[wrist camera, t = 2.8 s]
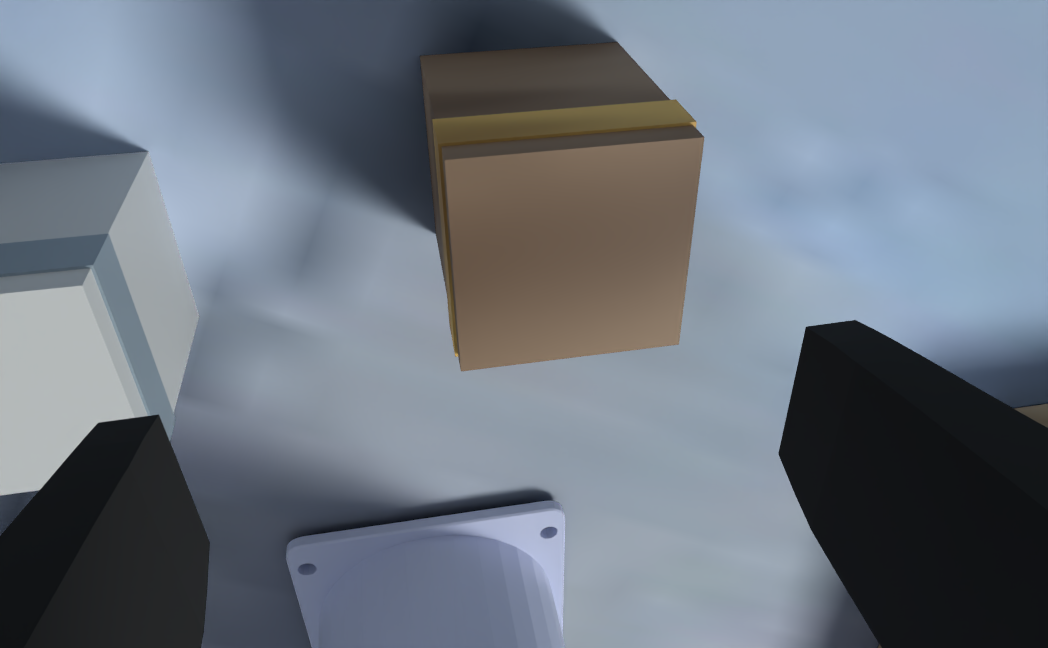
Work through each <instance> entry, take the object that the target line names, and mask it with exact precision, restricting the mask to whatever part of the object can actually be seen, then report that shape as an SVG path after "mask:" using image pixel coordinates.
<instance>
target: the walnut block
mask: <svg viewBox="0 0 1048 648" xmlns="http://www.w3.org/2000/svg"><path fill="white" fill-rule="evenodd" d="M420 62H421V73H422V84H423V96H424V107H425V118H426V129H427V140H428V151H429V162H430V174H431V185H432V196H433V207H434V218H435V229H436V237H437V243H438V248H439V254H440V259H441V265H442V270H443V276H444V281H445V286H446V292H447V299H448V311H449V323H450V330H451V335H452V341H453V346H454V352H455V357H457V356H458V357H459V363H460V368H461V371H468V370H476V369H484V368H492V367H500V366H508V365H516V364H524V363H532V362H540V361H549V360H557V359H565V358H573V357H581V356H589V355H597V354H605V353H613V352H622V351H630V350H638V349H646V348H654V347H662V346H670V345H678V344H679V339H680V330H681V322H682V314H683V306H684V298H685V290H686V282H687V274H688V266H689V257H690V249H691V241H692V233H693V225H694V217H695V209H696V201H697V192H698V184H699V176H700V168H701V160H702V152H703V144H704V136H703V135H702V134H701V133H700V132H699V131H698V130H697V129H696V121H695V120H694V119H693V118H692V116H691V115H690V114H689V113H688V112H687V111H686V110H685V109H684V108H683V107H682V106H681V105H680V104H679V102H678V101H677V100H670V99H669V98H668V97H667V96H666V95H665V94H664V93H663V92H662V90H661V89H660V88H659V87H658V86H657V85H656V84H655V83H654V82H653V81H652V79H651V78H650V77H649V76H648V75H647V74H646V73H645V72H644V71H643V70H642V69H641V67H640V66H639V65H638V64H637V63H636V62H635V61H634V60H633V59H632V58H631V56H630V55H629V54H628V53H627V52H626V51H625V50H624V49H623V48H622V47H621V46H620V44H619V43H618V42H611V43H596V44H582V45H568V46H553V47H539V48H525V49H510V50H496V51H482V52H467V53H453V54H439V55H424V56H420Z"/></svg>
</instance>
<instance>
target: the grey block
mask: <svg viewBox="0 0 1048 648" xmlns="http://www.w3.org/2000/svg"><path fill="white" fill-rule="evenodd" d="M198 319H199V314H198V311H197V308H196V304H195V301H194V298H193V294H192V291H191V288H190V285H189V281H188V278H187V275H186V272H185V268H184V265H183V262H182V259H181V255H180V252H179V249H178V246H177V242H176V239H175V236H174V233H173V229H172V226H171V223H170V220H169V216H168V213H167V210H166V207H165V203H164V200H163V197H162V193H161V190H160V187H159V184H158V180H157V177H156V174H155V171H154V167H153V164H152V161H151V158H150V154H149V151H146V152H134V153H122V154H109V155H97V156H85V157H73V158H61V159H49V160H36V161H24V162H12V163H0V495H8V494H15V493H23V492H30V491H38V490H40V489H41V488H42V487H43V486H44V485H45V483H46V482H47V481H48V480H49V479H50V478H51V476H52V475H53V474H54V473H55V472H56V470H57V469H58V468H59V467H60V466H61V465H62V463H63V462H64V461H65V460H66V459H67V458H68V456H69V455H70V454H71V453H72V452H73V451H74V449H75V448H76V447H77V446H78V445H79V444H80V442H81V441H82V440H83V439H84V438H85V437H86V436H87V435H88V433H89V432H90V431H91V430H92V429H93V428H94V427H95V426H96V425H97V423H99V422H107V421H114V420H122V419H129V418H136V417H144V416H151V415H158V414H159V416H160V418H161V421H162V423H163V426H164V428H165V431H166V433H167V436H168V438H169V441H171V437H172V433H173V429H174V425H175V421H176V419H175V416H174V410H175V406H176V403H177V399H178V395H179V391H180V387H181V384H182V380H183V376H184V372H185V368H186V365H187V361H188V357H189V353H190V349H191V345H192V342H193V338H194V334H195V330H196V326H197V323H198Z"/></svg>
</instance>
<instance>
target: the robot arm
mask: <svg viewBox="0 0 1048 648" xmlns="http://www.w3.org/2000/svg"><path fill="white" fill-rule="evenodd" d="M779 456H780V459H781V461H782V464H783V466H784V468H785V471H786V473H787V476H788V478H789V481H790V483H791V485H792V488H793V490H794V493H795V495H796V497H797V499H798V502H799V504H800V506H801V508H802V510H803V513H804V515H805V517H806V519H807V521H808V524H809V526H810V528H811V530H812V532H813V534H814V535H815V537H816V539H817V541H818V542H819V544H820V546H821V547H822V549H823V551H824V553H825V554H826V556H827V558H828V559H829V561H830V563H831V564H832V566H833V568H834V569H835V571H836V573H837V574H838V576H839V578H840V580H841V581H842V583H843V585H844V586H845V588H846V590H847V591H848V593H849V595H850V596H851V598H852V600H853V601H854V603H855V604H856V606H857V608H858V609H859V611H860V613H861V614H862V616H863V618H864V619H865V621H866V623H867V624H868V626H869V628H870V629H871V631H872V633H873V634H874V636H875V637H876V639H877V641H878V642H879V644H880V646H881V647H882V648H1048V428H1047V427H1045V426H1044V425H1042V424H1040V423H1038V422H1036V421H1035V420H1033V419H1031V418H1029V417H1028V416H1026V415H1024V414H1022V413H1020V412H1019V411H1017V410H1015V409H1013V408H1012V407H1010V406H1008V405H1006V404H1004V403H1003V402H1001V401H999V400H997V399H996V398H994V397H992V396H990V395H989V394H987V393H985V392H983V391H982V390H980V389H978V388H976V387H975V386H973V385H971V384H970V383H968V382H966V381H964V380H963V379H961V378H959V377H957V376H956V375H954V374H952V373H951V372H949V371H947V370H945V369H944V368H942V367H940V366H938V365H937V364H935V363H933V362H931V361H930V360H928V359H926V358H925V357H923V356H921V355H919V354H918V353H916V352H914V351H912V350H910V349H909V348H907V347H905V346H903V345H902V344H900V343H898V342H896V341H894V340H893V339H891V338H889V337H887V336H885V335H884V334H882V333H880V332H878V331H876V330H874V329H872V328H870V327H868V326H866V325H864V324H862V323H860V322H858V321H856V320H853V321H845V322H838V323H831V324H823V325H816V326H808V327H806V329H805V334H804V339H803V343H802V348H801V352H800V357H799V362H798V366H797V371H796V376H795V380H794V385H793V389H792V394H791V399H790V403H789V408H788V412H787V417H786V422H785V426H784V431H783V436H782V440H781V445H780V449H779ZM546 527H548V528H546ZM209 547H210V542H209V539H208V537H207V534H206V532H205V529H204V527H203V524H202V522H201V519H200V517H199V514H198V512H197V509H196V507H195V504H194V502H193V499H192V496H191V494H190V491H189V489H188V486H187V484H186V481H185V479H184V476H183V474H182V471H181V469H180V466H179V464H178V461H177V459H176V456H175V454H174V451H173V448H172V446H171V443H170V441H169V438H168V436H167V433H166V431H165V428H164V426H163V423H162V421H161V418H160V416H159V414H158V415H151V416H144V417H136V418H129V419H122V420H114V421H107V422H99V423H97V425H96V426H95V427H94V428H93V429H92V430H91V431H90V432H89V433H88V435H87V436H86V437H85V438H84V439H83V440H82V441H81V442H80V444H79V445H78V446H77V447H76V448H75V449H74V451H73V452H72V453H71V454H70V455H69V456H68V458H67V459H66V460H65V461H64V462H63V463H62V465H61V466H60V467H59V468H58V469H57V470H56V472H55V473H54V474H53V475H52V476H51V478H50V479H49V480H48V481H47V482H46V483H45V485H44V486H43V487H42V488H41V489H40V490H39V492H38V493H37V494H36V495H35V496H34V497H33V499H32V500H31V501H30V502H29V503H28V504H27V506H26V507H25V508H24V509H23V510H22V511H21V513H20V514H19V515H18V516H17V517H16V518H15V520H14V521H13V522H12V523H11V524H10V525H9V527H8V528H7V529H6V530H5V531H4V532H3V533H2V535H1V536H0V648H201V643H202V638H203V633H204V621H205V609H206V597H207V582H208V564H209ZM564 549H565V515H564V511H563V508H562V505H561V504H560V503H558V502H555V501H540V502H534V503H527V504H520V505H513V506H506V507H499V508H493V509H486V510H479V511H472V512H465V513H459V514H452V515H445V516H438V517H431V518H425V519H418V520H411V521H404V522H397V523H390V524H384V525H377V526H370V527H363V528H356V529H350V530H343V531H336V532H329V533H322V534H316V535H309V536H302V537H298V538H295V539H294V540H292V541H290V542H289V544H288V545H287V550H286V561H287V565H288V568H289V571H290V575H291V578H292V582H293V585H294V588H295V592H296V595H297V599H298V602H299V606H300V609H301V612H302V616H303V619H304V623H305V626H306V629H307V633H308V636H309V640H310V643H311V647H312V648H565V643H564V639H563V592H564ZM305 563H310V564H305Z"/></svg>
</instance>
